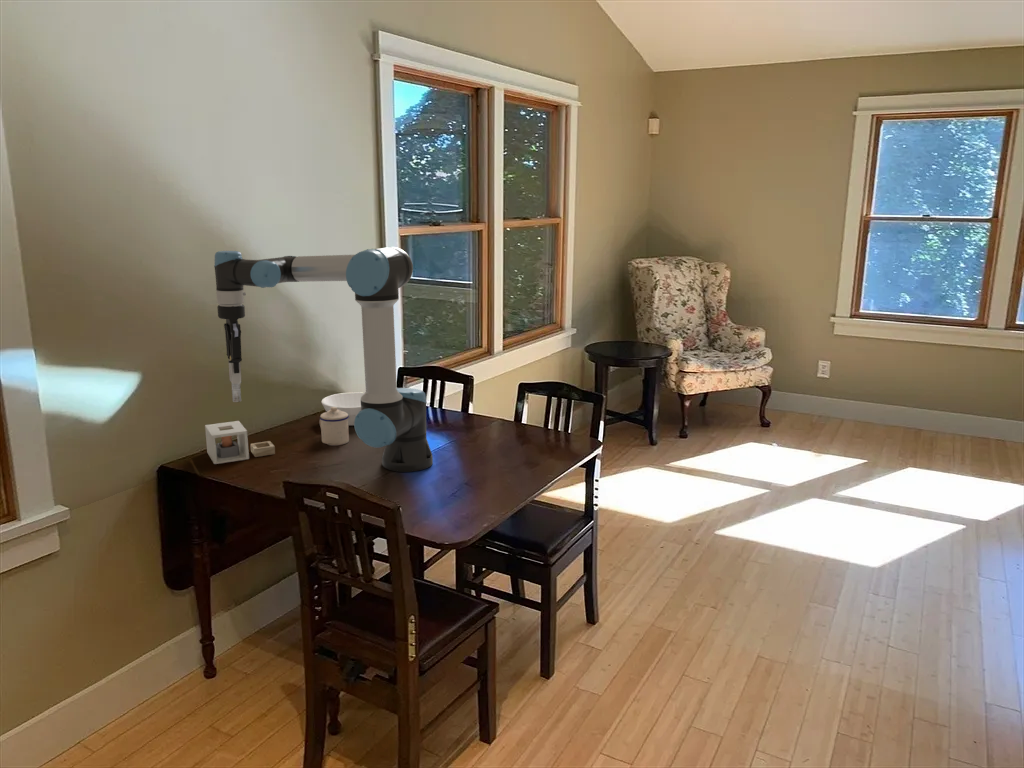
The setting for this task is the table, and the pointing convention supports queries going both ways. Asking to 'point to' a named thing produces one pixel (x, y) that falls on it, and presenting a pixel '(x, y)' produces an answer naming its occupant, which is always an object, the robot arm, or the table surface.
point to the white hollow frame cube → (227, 453)
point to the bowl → (345, 404)
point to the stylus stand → (262, 448)
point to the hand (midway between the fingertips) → (235, 381)
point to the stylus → (236, 391)
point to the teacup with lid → (334, 427)
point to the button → (226, 441)
